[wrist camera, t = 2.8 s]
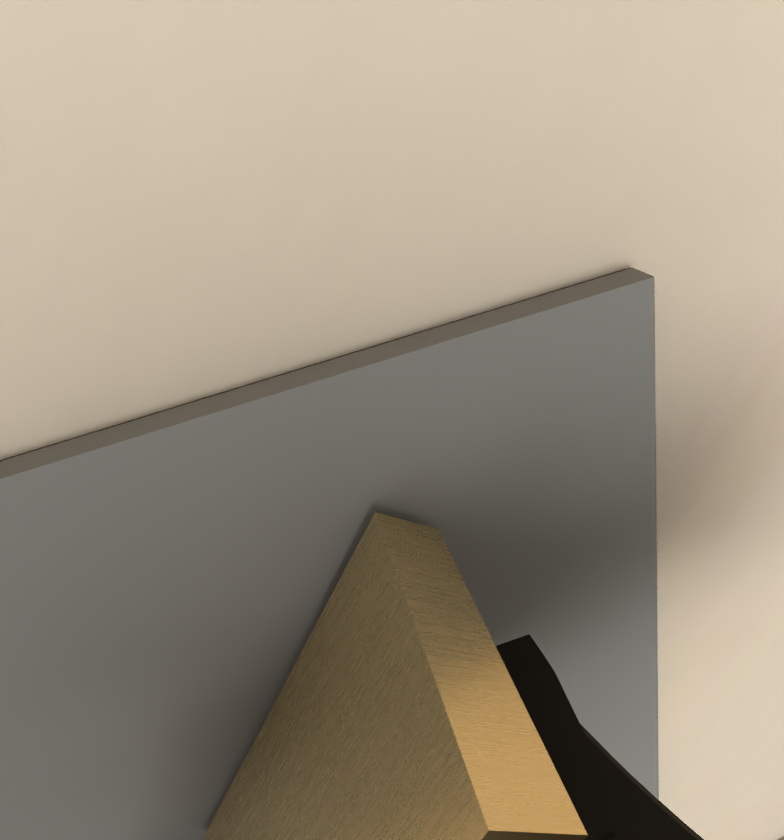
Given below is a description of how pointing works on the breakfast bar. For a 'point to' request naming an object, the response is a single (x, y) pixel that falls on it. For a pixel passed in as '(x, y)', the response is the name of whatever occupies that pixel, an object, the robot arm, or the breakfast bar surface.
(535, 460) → the hinge base
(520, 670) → the robot arm
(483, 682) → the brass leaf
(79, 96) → the breakfast bar surface
